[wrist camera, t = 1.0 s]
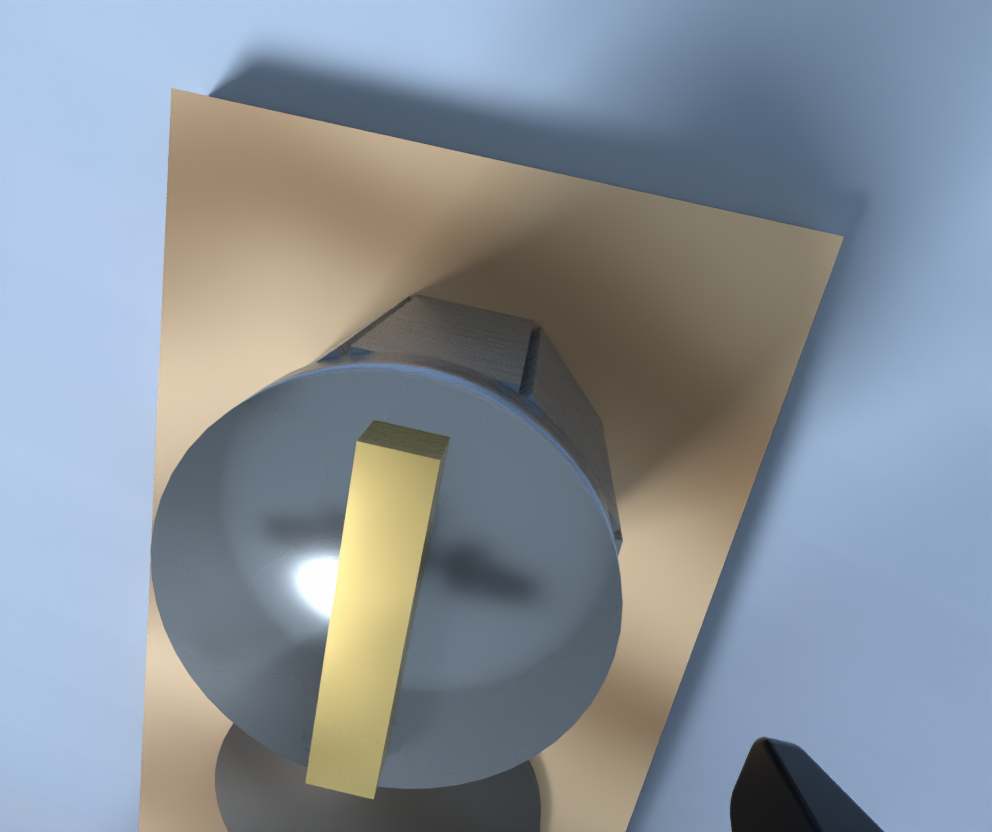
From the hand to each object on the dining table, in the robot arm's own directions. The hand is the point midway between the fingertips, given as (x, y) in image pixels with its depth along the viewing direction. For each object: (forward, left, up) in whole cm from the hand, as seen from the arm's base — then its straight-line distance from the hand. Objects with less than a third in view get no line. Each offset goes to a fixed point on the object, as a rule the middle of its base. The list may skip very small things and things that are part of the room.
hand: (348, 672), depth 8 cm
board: (-4, 0, -8) cm, 9 cm away
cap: (0, 0, -7) cm, 7 cm away
